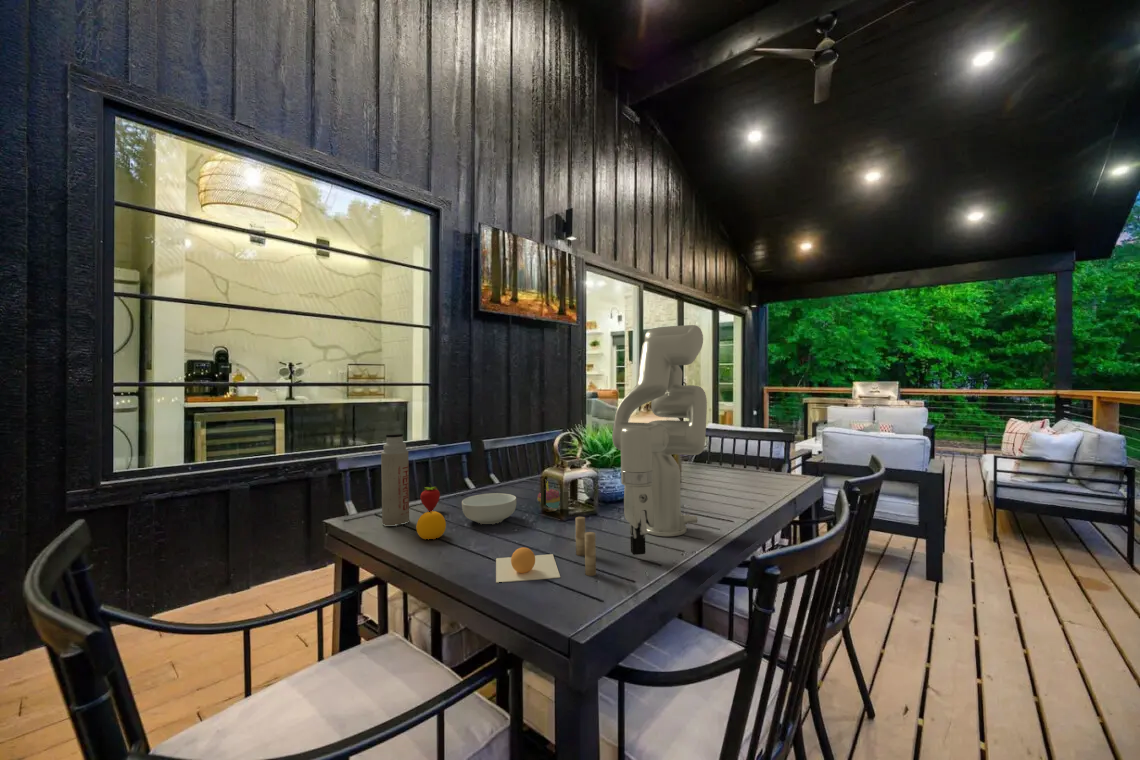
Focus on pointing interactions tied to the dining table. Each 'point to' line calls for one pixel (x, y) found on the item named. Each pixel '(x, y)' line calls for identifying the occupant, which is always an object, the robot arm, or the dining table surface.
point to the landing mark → (541, 570)
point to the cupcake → (551, 497)
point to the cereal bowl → (489, 507)
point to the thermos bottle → (395, 481)
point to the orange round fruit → (431, 525)
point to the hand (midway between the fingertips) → (638, 553)
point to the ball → (523, 560)
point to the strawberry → (430, 497)
